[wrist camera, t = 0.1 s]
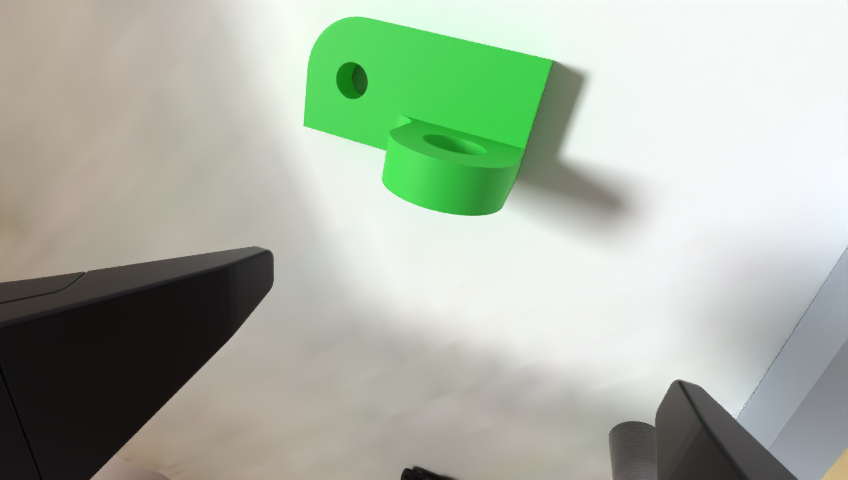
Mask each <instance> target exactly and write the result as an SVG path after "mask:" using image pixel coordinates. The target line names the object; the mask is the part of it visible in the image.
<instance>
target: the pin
mask: <svg viewBox="0 0 848 480" xmlns="http://www.w3.org/2000/svg"><path fill="white" fill-rule="evenodd" d="M609 445H610V455H611V466H612V476H613V480H657V458H656V429H655V428H654V427H653V426H651V425H648V424H646V423H642V422H636V421H630V422H624V423H621V424H618V425H617V426H615V427H614V428H613V429H612V430H611V432H610V434H609Z"/></svg>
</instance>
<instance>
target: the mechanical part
mask: <svg viewBox="0 0 848 480" xmlns="http://www.w3.org/2000/svg"><path fill="white" fill-rule="evenodd" d="M553 61H554V60H550V59H545V58H541V57H537V56H532V55H528V54H523V53H519V52H515V51H510V50H506V49H502V48H497V47H493V46H488V45H484V44H480V43H475V42H471V41H466V40H462V39H458V38H453V37H449V36H445V35H440V34H436V33H431V32H427V31H423V30H418V29H414V28H410V27H405V26H401V25H396V24H392V23H388V22H383V21H379V20H374V19H370V18H365V17H348V18H344V19H341V20H339V21H337V22H335V23H333V24H332V25H330V26H329V27H328V28H326V29H325V30H324V31H323V32H322V34H321V35H320V36H319V38H318V39H317V41H316V42H315V44H314V46H313V49H312V51H311V54H310V58H309V62H308V71H307V85H306V99H305V113H304V126H306V127H309V128H312V129H316V130H319V131H322V132H326V133H329V134H333V135H336V136H339V137H343V138H346V139H349V140H353V141H356V142H360V143H363V144H366V145H370V146H373V147H377V148H380V149H383V150H387V152H386V158H385V164H384V170H383V176H382V181H383V184H384V185H385V186H386V188H387V189H388V190H390V191H391V192H392V193H394V194H395V195H397V196H398V197H400V198H402V199H404V200H406V201H408V202H410V203H413V204H415V205H418V206H421V207H424V208H427V209H431V210H435V211H439V212H444V213H449V214H456V215H468V216H479V215H488V214H492V213H495V212H497V211H499V210H500V209H501V208H502V207H503V205H504V203H505V201H506V199H507V197H508V195H509V193H510V191H511V188H512V186H513V184H514V182H515V180H516V178H517V175H518V172H519V169H520V165H521V162H522V159H523V156H524V153H525V150H526V146H527V143H528V140H529V137H530V134H531V131H532V127H533V124H534V121H535V118H536V115H537V112H538V108H539V105H540V102H541V99H542V96H543V93H544V89H545V86H546V83H547V80H548V77H549V74H550V70H551V67H552V64H553ZM357 65H360V66H361V67H362V68H363V69H364V71H365V73H366V75H367V79H368V85H367V89H366V91H365V93H364V94H363V95H360V94H359V93H358V92H357V91H356V89H355V88H354V86H353V82H352V75H353V71H354V69H355V68H356V66H357Z"/></svg>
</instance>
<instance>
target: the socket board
mask: <svg viewBox="0 0 848 480" xmlns="http://www.w3.org/2000/svg"><path fill="white" fill-rule="evenodd" d="M736 421H737V422H738V423H739V424H741V425H742V426H743V427H744V428H745V429H746V430H747V431H748V432H749V433H750V434H751V435H752V436H753V437H754V438H755V439H756V440H757V441H758V442H759V443H760V444H762V445H763V446H764V447H765V448H766V449H767V450H768V451H769V452H770V453H771V454H772V455H773V456H774V457H775V458H776V459H777V460H778V461H779V462H780V463H782V464H783V465H784V466H785V467H786V468H787V469H788V470H789V471H790V472H791V473H792V474H793V475H794V476H795V477H796V478H797V479H798V480H848V247H847V249H846V250H845V252H844V253H843V255H842V256H841V258H840V260H839V261H838V263H837V264H836V266H835V267H834V269H833V270H832V272H831V274H830V275H829V277H828V278H827V280H826V281H825V283H824V284H823V286H822V288H821V289H820V291H819V292H818V294H817V295H816V297H815V298H814V300H813V301H812V303H811V305H810V306H809V308H808V309H807V311H806V312H805V314H804V315H803V317H802V319H801V320H800V322H799V323H798V325H797V326H796V328H795V329H794V331H793V333H792V334H791V336H790V337H789V339H788V340H787V342H786V343H785V345H784V347H783V348H782V350H781V351H780V353H779V354H778V356H777V357H776V359H775V360H774V362H773V364H772V365H771V367H770V368H769V370H768V371H767V373H766V374H765V376H764V378H763V379H762V381H761V382H760V384H759V385H758V387H757V388H756V390H755V392H754V393H753V395H752V396H751V398H750V399H749V401H748V402H747V404H746V406H745V407H744V409H743V410H742V412H741V413H740V415H739V416H738V418H737V419H736Z"/></svg>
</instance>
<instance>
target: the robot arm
mask: <svg viewBox="0 0 848 480" xmlns="http://www.w3.org/2000/svg"><path fill="white" fill-rule="evenodd" d="M273 281H274V257H273V253H272V252H271V251H270V250H267V249H264V248H261V247H257V246H253V247H246V248H240V249H233V250H226V251H219V252H213V253H206V254H199V255H192V256H186V257H179V258H172V259H165V260H159V261H152V262H145V263H139V264H132V265H125V266H118V267H112V268H105V269H98V270H91V271H88V272H77V273H71V274H64V275H57V276H50V277H42V278H35V279H27V280H19V281H11V282H2V283H0V480H90V479H91V478H92V477H93V476H94V475H95V474H96V473H97V472H98V471H99V470H100V469H101V468H102V467H103V466H104V465H105V464H106V463H107V462H108V461H109V460H110V459H111V458H112V457H113V456H114V455H115V454H116V453H117V452H118V451H119V450H120V449H121V448H122V447H123V446H124V445H125V444H126V443H127V442H128V441H129V440H130V439H131V438H132V437H133V436H134V435H135V434H136V433H137V432H138V431H139V430H140V429H141V428H142V427H143V426H144V425H145V424H146V423H147V422H148V421H149V420H150V419H151V418H152V417H153V416H154V415H155V414H156V413H157V412H158V411H159V410H160V409H161V408H162V407H163V406H164V405H165V404H166V403H167V402H168V401H169V400H170V399H171V398H172V397H173V396H174V395H175V394H176V393H177V392H178V391H179V390H180V389H181V388H182V387H183V386H184V385H185V384H186V383H187V382H188V381H189V380H190V379H191V378H192V377H193V376H194V375H195V374H196V373H197V372H198V371H199V370H200V369H201V368H202V367H203V366H204V365H205V364H206V363H207V362H208V361H209V360H210V359H211V357H212V356H213V355H214V354H215V353H216V352H217V351H218V350H219V349H220V348H221V347H222V346H223V345H224V344H225V343H226V342H227V341H228V340H229V339H230V338H231V337H232V336H233V335H234V334H235V333H236V331H237V330H238V329H239V328H240V327H241V325H242V324H243V323H244V322H245V321H246V319H247V318H248V317H249V316H250V314H251V313H252V312H253V311H254V309H255V308H256V307H257V306H258V305H259V303H260V302H261V301H262V300H263V298H264V297H265V296H266V295H267V293H268V292H269V291H270V289H271V288H272V285H273ZM655 429H656V458H657V480H798V479H797V478H796V477H795V476H794V475H793V474H792V473H791V472H790V471H789V470H788V469H787V468H786V467H785V466H784V465H783V464H782V463H780V462H779V461H778V460H777V459H776V458H775V457H774V456H773V455H772V454H771V453H770V452H769V451H768V450H767V449H766V448H765V447H764V446H763V445H762V444H760V443H759V442H758V441H757V440H756V439H755V438H754V437H753V436H752V435H751V434H750V433H749V432H748V431H747V430H746V429H745V428H744V427H743V426H742V425H741V424H739V423H738V422H737V421H736V420H735V419H734V418H733V417H732V416H731V415H730V414H729V413H728V412H727V411H726V410H725V409H724V408H723V407H722V406H721V405H720V404H718V403H717V402H716V401H715V400H714V399H713V398H712V397H711V396H710V395H709V394H708V393H707V392H706V391H705V390H704V389H703V388H702V387H700V386H698V385H696V384H692V383H689V382H686V381H683V380H679V379H678V380H675V381H674V382H673V383H672V384H671V386H670V387H669V389H668V391H667V393H666V395H665V397H664V398H663V400H662V402H661V404H660V406H659V408H658V410H657V413H656V418H655ZM401 480H436V479H433V478H431V477H429V476H426V475H424V474H421V473H419V472H416V471H414V470H411V469H408V468H405V469H404V470H403V473H402V475H401Z"/></svg>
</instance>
